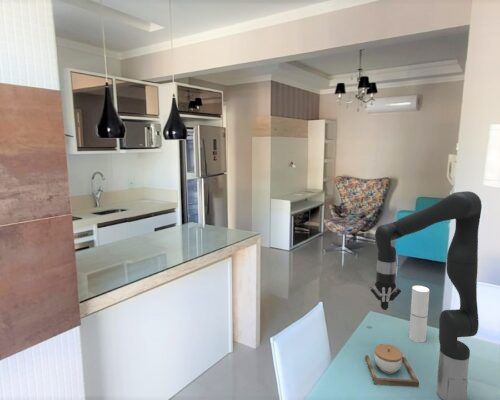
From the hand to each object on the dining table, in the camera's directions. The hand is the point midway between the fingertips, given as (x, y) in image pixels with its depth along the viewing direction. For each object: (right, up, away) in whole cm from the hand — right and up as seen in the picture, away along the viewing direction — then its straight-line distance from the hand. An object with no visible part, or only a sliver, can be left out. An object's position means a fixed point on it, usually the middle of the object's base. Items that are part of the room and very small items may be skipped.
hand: (384, 309), depth 148 cm
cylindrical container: (+22, -19, +16) cm, 33 cm away
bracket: (-1, -23, -8) cm, 24 cm away
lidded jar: (-1, -23, -6) cm, 24 cm away
